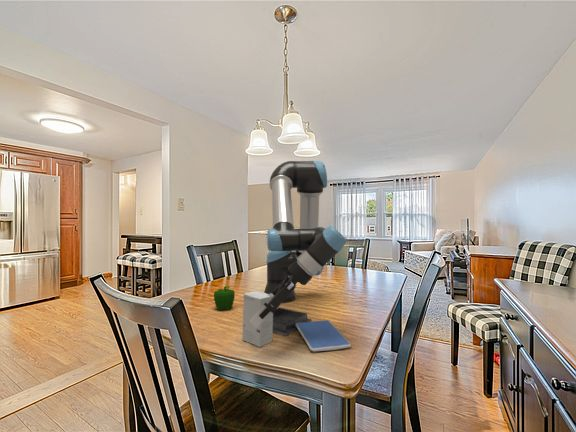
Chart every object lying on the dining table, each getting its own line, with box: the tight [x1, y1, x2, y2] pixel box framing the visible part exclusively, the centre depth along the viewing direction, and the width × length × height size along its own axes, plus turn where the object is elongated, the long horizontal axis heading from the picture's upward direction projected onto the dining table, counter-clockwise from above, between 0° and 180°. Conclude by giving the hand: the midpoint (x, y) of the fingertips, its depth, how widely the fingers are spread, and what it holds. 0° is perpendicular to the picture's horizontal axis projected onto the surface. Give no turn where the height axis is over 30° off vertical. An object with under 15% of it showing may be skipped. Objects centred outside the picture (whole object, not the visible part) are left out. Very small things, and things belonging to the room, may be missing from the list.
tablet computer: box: [296, 320, 352, 352], centre depth 94 cm, size 19×13×1 cm, turn 13°
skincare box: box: [241, 290, 274, 348], centre depth 92 cm, size 8×6×15 cm
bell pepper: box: [213, 285, 236, 311], centre depth 125 cm, size 8×8×10 cm
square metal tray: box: [272, 307, 312, 337], centre depth 107 cm, size 15×16×3 cm
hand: (257, 316), depth 92 cm, fingers open, 13 cm apart
